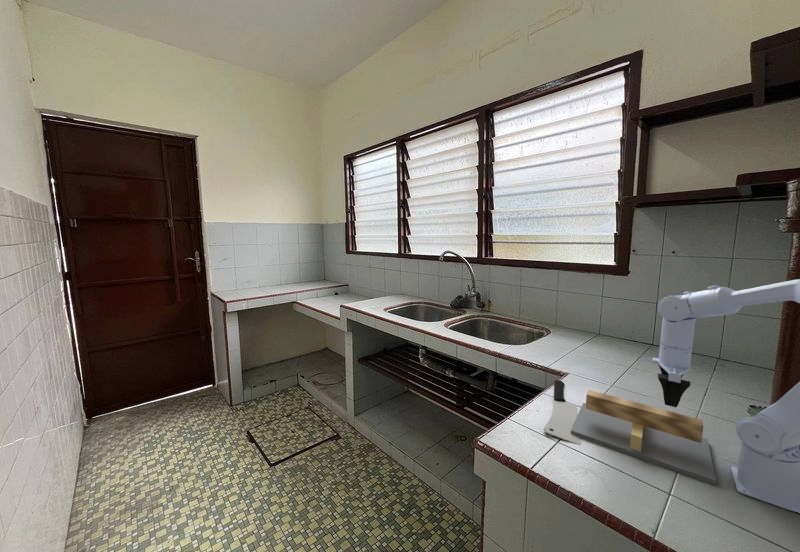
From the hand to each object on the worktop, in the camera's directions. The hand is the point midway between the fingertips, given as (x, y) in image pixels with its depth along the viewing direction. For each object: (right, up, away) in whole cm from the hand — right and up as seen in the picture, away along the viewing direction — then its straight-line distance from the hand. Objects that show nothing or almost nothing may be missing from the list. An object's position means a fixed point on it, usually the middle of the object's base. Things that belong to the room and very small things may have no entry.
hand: (670, 398), depth 76 cm
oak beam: (-8, -6, 0) cm, 9 cm away
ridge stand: (-8, -10, +1) cm, 13 cm away
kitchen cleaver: (-18, -9, +14) cm, 25 cm away
